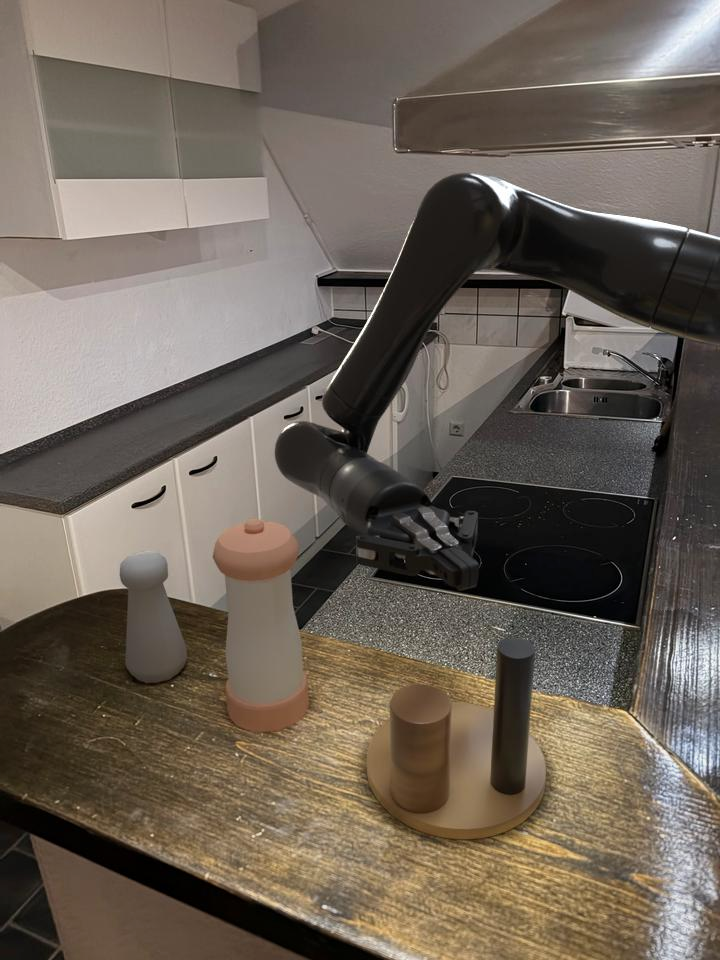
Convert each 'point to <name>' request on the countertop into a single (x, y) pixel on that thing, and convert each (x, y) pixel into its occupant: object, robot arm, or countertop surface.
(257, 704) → the pepper shaker
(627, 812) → the countertop surface
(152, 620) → the salt shaker
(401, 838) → the countertop surface
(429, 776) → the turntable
